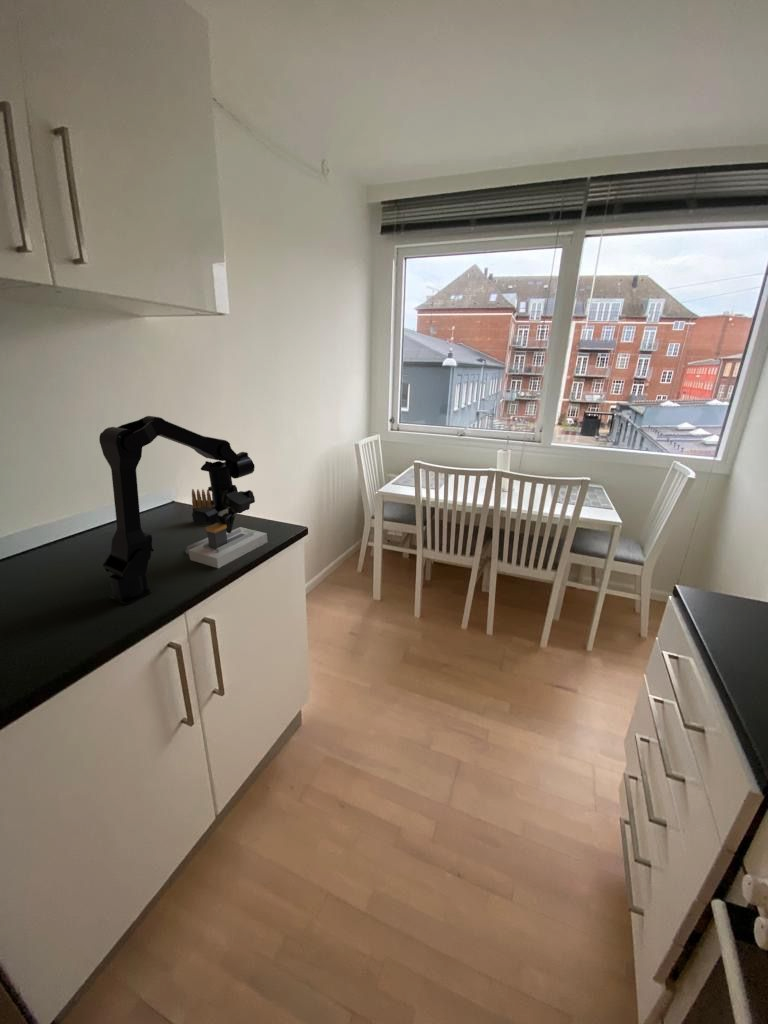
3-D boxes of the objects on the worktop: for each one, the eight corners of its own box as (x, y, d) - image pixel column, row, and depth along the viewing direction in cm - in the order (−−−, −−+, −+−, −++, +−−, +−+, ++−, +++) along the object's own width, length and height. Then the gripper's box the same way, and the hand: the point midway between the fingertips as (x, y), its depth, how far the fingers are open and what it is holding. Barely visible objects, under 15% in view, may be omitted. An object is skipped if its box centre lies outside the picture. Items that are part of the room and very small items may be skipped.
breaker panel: (218, 568, 115) (216, 555, 114) (190, 559, 120) (188, 547, 118) (267, 542, 132) (266, 530, 131) (241, 535, 136) (239, 524, 135)
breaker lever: (216, 549, 118) (214, 529, 116) (208, 546, 120) (205, 527, 118) (228, 543, 122) (226, 524, 120) (220, 541, 124) (217, 522, 122)
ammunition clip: (193, 522, 147) (188, 489, 143) (196, 520, 148) (191, 488, 144) (223, 523, 146) (219, 490, 142) (225, 521, 148) (222, 488, 144)
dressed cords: (189, 555, 122) (188, 550, 122) (181, 552, 124) (180, 548, 123) (231, 535, 136) (231, 531, 136) (224, 533, 138) (224, 529, 137)
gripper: (216, 497, 107) (225, 551, 113) (266, 477, 123) (271, 526, 128) (186, 491, 112) (196, 543, 117) (237, 472, 127) (244, 520, 133)
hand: (229, 533), depth 124 cm, fingers closed
